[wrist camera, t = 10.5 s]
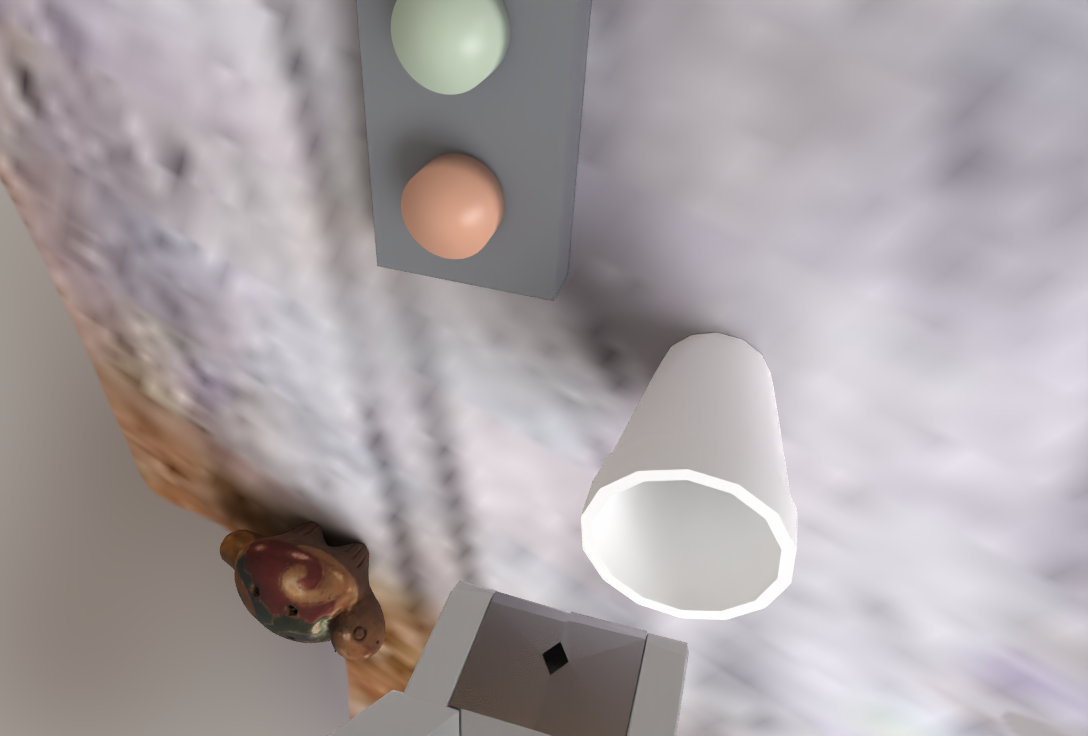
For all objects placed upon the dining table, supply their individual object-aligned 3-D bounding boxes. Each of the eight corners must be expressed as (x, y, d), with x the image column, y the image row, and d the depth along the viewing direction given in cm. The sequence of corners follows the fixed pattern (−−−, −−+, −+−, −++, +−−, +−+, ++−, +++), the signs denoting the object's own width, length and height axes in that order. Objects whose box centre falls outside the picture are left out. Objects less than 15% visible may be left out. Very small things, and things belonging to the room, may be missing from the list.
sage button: (530, -37, 34) (496, -17, 30) (526, 71, 37) (494, 102, 33) (432, -48, 35) (387, -30, 31) (435, 58, 38) (393, 86, 34)
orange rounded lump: (523, 142, 39) (492, 177, 35) (519, 225, 42) (491, 266, 38) (436, 127, 40) (398, 161, 36) (438, 211, 43) (403, 250, 39)
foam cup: (826, 337, 41) (830, 512, 31) (770, 461, 47) (757, 643, 37) (652, 289, 42) (600, 442, 32) (617, 415, 48) (564, 580, 38)
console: (623, -366, 28) (605, -381, 25) (567, 273, 43) (553, 301, 41) (363, -376, 30) (324, -390, 27) (400, 241, 45) (377, 265, 43)
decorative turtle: (417, 612, 66) (369, 697, 61) (262, 549, 69) (202, 624, 63) (418, 543, 60) (365, 630, 54) (248, 477, 63) (180, 552, 57)
